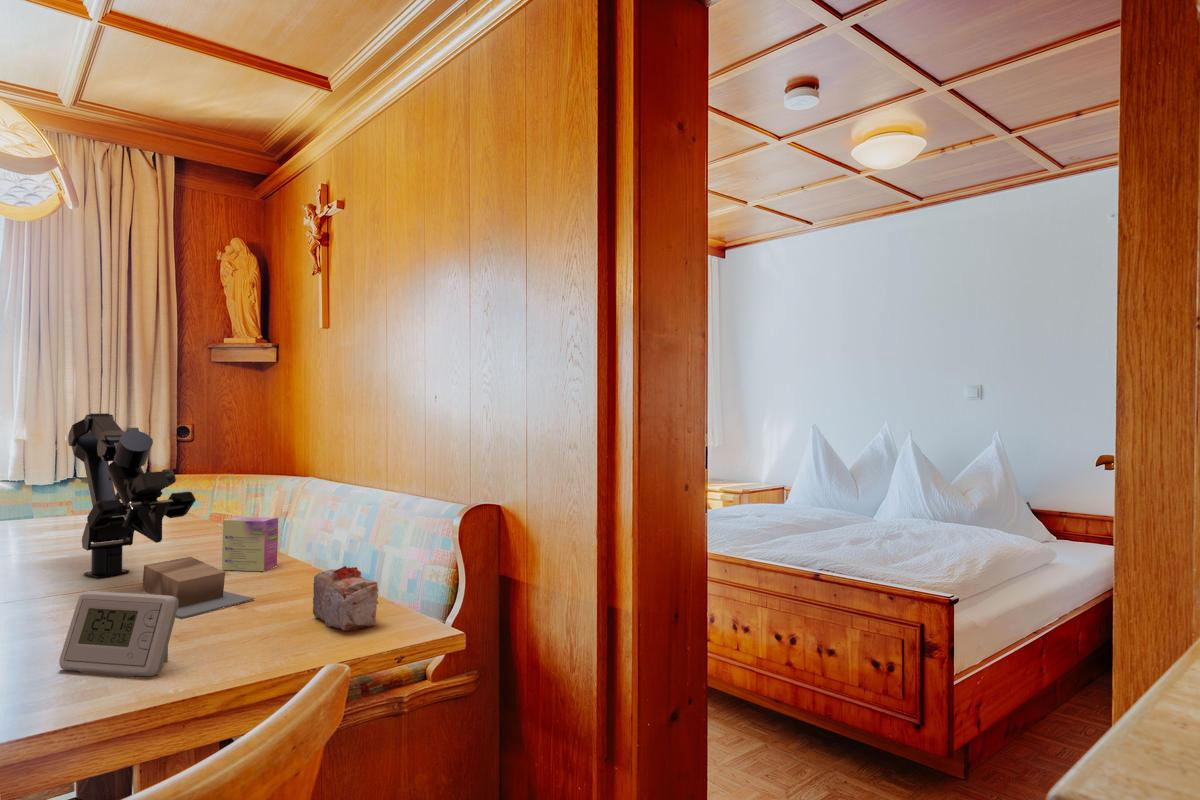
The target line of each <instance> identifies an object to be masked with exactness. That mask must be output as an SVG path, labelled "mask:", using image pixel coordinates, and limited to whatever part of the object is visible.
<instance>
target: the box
mask: <svg viewBox="0 0 1200 800" xmlns="http://www.w3.org/2000/svg"><path fill="white" fill-rule="evenodd" d="M278 535H279V517H270V516H269V517H265V516H264V517H261V516H260V517H259V516H237V515H236V516H232V517H228V518H225V519H223V521H222V555H221V556H222V559H221V560H222V561H221V570H222V571H242V572H246V571H247V572H259V571H263V572H264V571H265V572H267V571H266V570H268V569H270V570H272V569H271V568H273V567H275V566H277V567H278V549H279V548H278V544H279V540H278V539H279V538H278V537H279V536H278ZM275 568H276V567H275ZM273 569H274V568H273ZM268 571H269V570H268ZM263 572H262V573H263Z"/></svg>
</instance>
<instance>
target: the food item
mask: <svg viewBox="0 0 1200 800" xmlns="http://www.w3.org/2000/svg"><path fill="white" fill-rule="evenodd" d="M378 592H379V589H378V581H374V580H371V579H368V578H365V577H362V572H361V570H359V568H358V567H354V566H352V567H347V566H346V565H344V566H342V567H340V568H338V569H337V568H336V569H328V570H325V571H322V572H318V573H317V574H315V575H314V576H313V597H312V604H313V606H312V614H313V617H314V618H318V619H321V620H322V621H323V622H324V625H325V627H334V628H335V629H339V630H340V629H341V630H342V631H345V632H350V631H355V630H360V629H367V628H370V627H373V626H376V622H377V621H376V618H377V617H376V616H377V607H378V604H379V600H378V599H379V593H378Z"/></svg>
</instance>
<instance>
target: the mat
mask: <svg viewBox="0 0 1200 800" xmlns="http://www.w3.org/2000/svg"><path fill="white" fill-rule="evenodd" d="M253 599H255V600H256V598H255V597H250V596H246V595H241V594H237V593H234V592H229V591H225V590H224V591H223V597H220V598H216V599H212V600H208V601H203V602H199V603H195V604H191V605H187V606H182V607H178V609H177V613H176V617H175V618H177V617H178V619H181V620H183V618H184V619H187V618H190V617H194V616H199V615H203V614H205V613H206V612H207V613H210V612H209V611H211V612H213V611H212V610H215V611H217V610H216V609H219V608H223V607H227V606H230V605H234V606H236V605H235V604H238V603H242V602H246V601H250V600H253ZM250 602H251V601H250ZM246 603H247V602H246ZM242 604H243V603H242ZM238 605H239V604H238ZM230 607H231V606H230ZM227 608H228V607H227ZM223 609H224V608H223ZM219 610H220V609H219ZM202 613H203V614H202ZM186 617H187V618H186Z"/></svg>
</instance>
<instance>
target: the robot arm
mask: <svg viewBox="0 0 1200 800" xmlns="http://www.w3.org/2000/svg"><path fill="white" fill-rule="evenodd" d="M67 437H68V438H67V442H68V446H69V447H71V449H72V453H73V456H74V457H76V458H77V459H79V460H80V461H81V462H83V465H84V470H85V473H86V474H85V475H86V479H87V485H88V490H89V493H90V494H89V495H90V500H91V503H92V508H91V510H90V512H89V513H88V515H87V517H86V524H85V527H84V530H83V532H82V533H83V534H82V537H81V546H82V547H81V548H83V550H86V551H91V557H90V558H91V559H90V560H91V561H90V562H91V563H90V564H91V566H90V567H91V569H90V571H85V572H83V575H84V576H88V577H92V578H96V579H102V578H106V577H111V576H117V575H118V576H119V575H122V574H127V573H130V569H126V568H123V548H124V547H125V546H126V547H127V546H132V545H133V543H134V534H135V532H137V533H140V535H143V536H144V537H146V538H147V539H149V540H150V541H153V542H154V543H156V544H157V543H161V542H162V540H163V518H164V517H165V516H166V517H167V518H169V519H174V518H181V517H182V518H183V517H184V516H186V515H187V514H188V512H189V511H190V509H192V506H193V505H194V504H195V503H196V501H197V500H196V497H195V496H194V494H193V492H192V491H179V492H172V493H171V494H170V496H169V497H168V499H162V500H158V499H159V498H161V496H162V495H163V492H162V490H164V489H165V488H168V487H170V486H172V485H173V484H175V483H176V482H177V478H176V474H175V472H174V471H173V469H172V468H165V469H162V471H151V472H144V470H143V468H142V467H143V466H145V465H146V463H147V460H148V458H149V455H150V452H151V450H152V449H151V448H152V446H153V444H154V441H153V438H152V437H151V436H150V435H148V434H147V433H145V432H143V431H140V430H139V427H127V428H126V431H125V430H123V429H122V428H121V427H120V426H119V424H118V423H117V422H116V421H115V420H114V415H113V414H110V413H109V412H108V413H107V412H106V413H105V412H103V413H97V412H96V413H95V412H94V413H89V414H86V415H85V417H84V418H83V419H81V420H79V421H77V422H75V423H73V424H72V426H71V427H70V429H69V432H68V436H67ZM109 462H111V463H109ZM115 490H116V493H115Z"/></svg>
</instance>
